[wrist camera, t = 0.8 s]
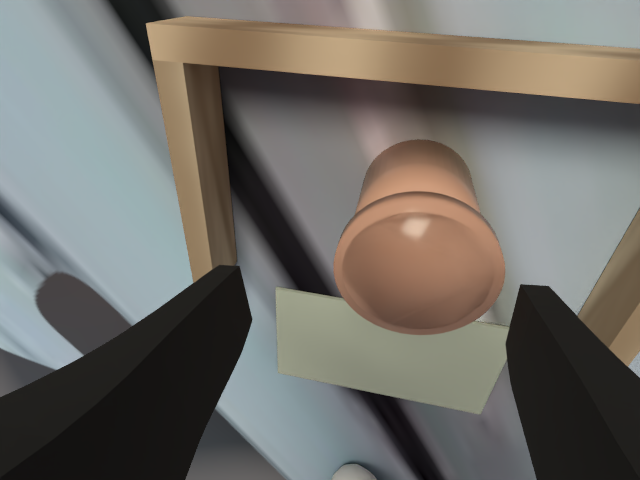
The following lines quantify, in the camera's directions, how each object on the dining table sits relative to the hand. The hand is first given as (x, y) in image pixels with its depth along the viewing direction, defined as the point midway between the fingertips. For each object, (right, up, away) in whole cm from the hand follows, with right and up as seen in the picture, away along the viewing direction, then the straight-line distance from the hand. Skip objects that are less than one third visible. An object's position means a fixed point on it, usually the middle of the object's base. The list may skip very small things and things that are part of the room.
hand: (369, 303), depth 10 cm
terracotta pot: (+3, +4, +8) cm, 10 cm away
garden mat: (+3, -5, +15) cm, 16 cm away
